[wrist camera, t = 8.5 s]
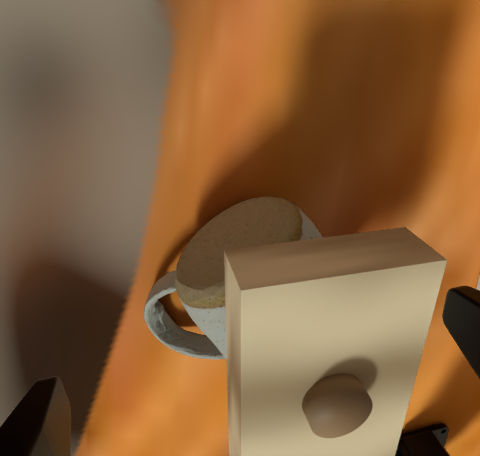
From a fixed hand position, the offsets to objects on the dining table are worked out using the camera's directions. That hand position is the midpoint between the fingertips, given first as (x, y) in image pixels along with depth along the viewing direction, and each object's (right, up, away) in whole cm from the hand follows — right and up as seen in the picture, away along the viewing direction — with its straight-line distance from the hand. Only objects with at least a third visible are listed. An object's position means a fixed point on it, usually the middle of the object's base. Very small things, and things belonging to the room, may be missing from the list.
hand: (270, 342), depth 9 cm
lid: (+2, -3, +8) cm, 9 cm away
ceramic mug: (-1, 0, +15) cm, 15 cm away
